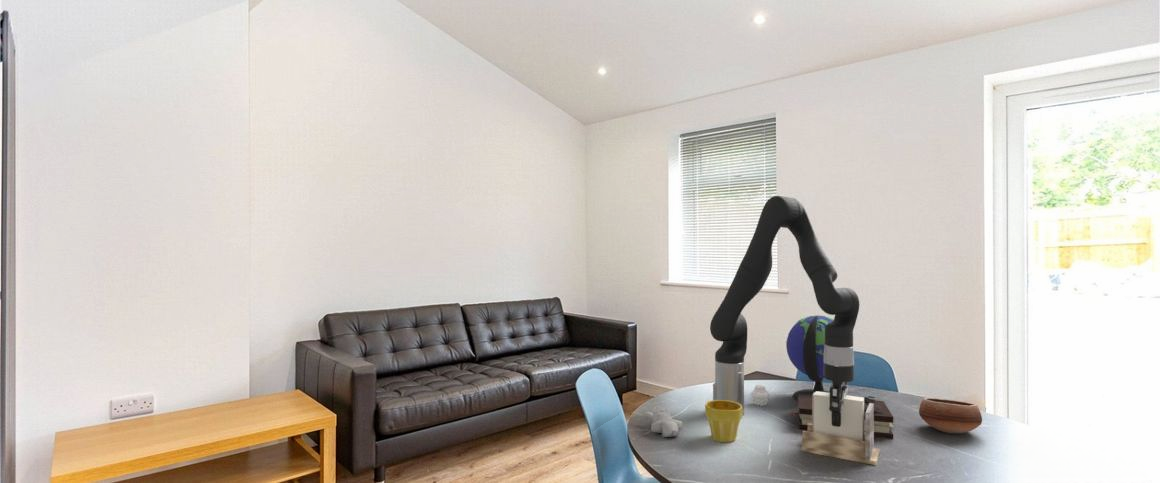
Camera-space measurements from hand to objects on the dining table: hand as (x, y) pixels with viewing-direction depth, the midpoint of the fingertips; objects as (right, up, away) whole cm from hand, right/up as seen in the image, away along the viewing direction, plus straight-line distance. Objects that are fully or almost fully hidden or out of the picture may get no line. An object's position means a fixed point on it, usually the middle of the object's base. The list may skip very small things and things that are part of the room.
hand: (838, 421), depth 152 cm
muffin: (-8, -8, +43) cm, 44 cm away
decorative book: (+11, -9, +21) cm, 26 cm away
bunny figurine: (-45, -9, +17) cm, 49 cm away
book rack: (0, -8, 0) cm, 8 cm away
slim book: (0, -7, 0) cm, 7 cm away
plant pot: (-29, -8, +10) cm, 31 cm away
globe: (+16, -8, +49) cm, 52 cm away
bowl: (+40, -8, +15) cm, 43 cm away
